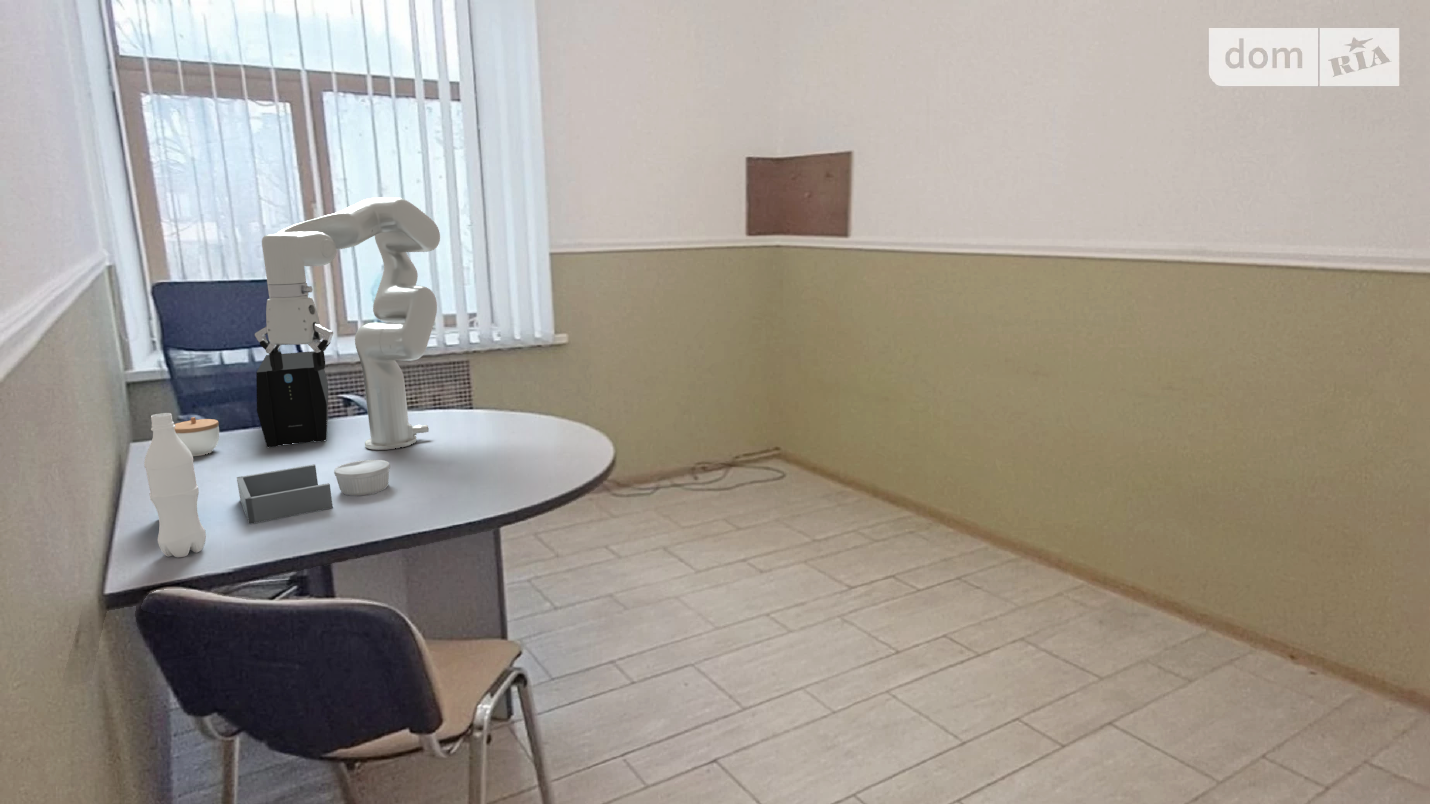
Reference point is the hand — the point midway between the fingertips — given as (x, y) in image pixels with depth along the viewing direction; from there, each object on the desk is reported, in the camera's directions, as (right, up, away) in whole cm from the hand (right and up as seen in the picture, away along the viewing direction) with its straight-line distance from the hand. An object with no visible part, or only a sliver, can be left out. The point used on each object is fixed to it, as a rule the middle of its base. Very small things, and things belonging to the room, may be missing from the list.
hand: (298, 370), depth 186 cm
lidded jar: (-40, -20, +30) cm, 54 cm away
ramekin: (+16, -26, -3) cm, 31 cm away
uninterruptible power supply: (-25, -15, +51) cm, 59 cm away
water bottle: (-2, -34, -36) cm, 50 cm away
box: (+3, -28, -11) cm, 30 cm away
